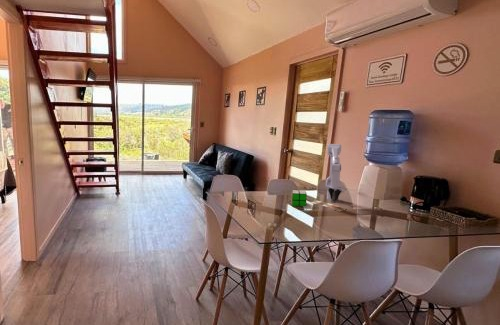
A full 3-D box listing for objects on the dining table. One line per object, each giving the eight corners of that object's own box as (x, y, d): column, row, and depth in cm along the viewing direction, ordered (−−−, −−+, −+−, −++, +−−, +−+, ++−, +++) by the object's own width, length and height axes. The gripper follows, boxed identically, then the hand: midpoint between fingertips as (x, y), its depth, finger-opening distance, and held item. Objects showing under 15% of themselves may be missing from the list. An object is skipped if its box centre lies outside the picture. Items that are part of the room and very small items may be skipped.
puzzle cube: (304, 203, 223) (305, 190, 221) (306, 207, 213) (306, 193, 212) (291, 203, 224) (291, 190, 222) (291, 206, 214) (292, 193, 213)
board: (317, 201, 229) (317, 200, 229) (346, 208, 211) (347, 207, 211) (309, 203, 222) (309, 202, 222) (339, 211, 204) (339, 210, 204)
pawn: (333, 200, 215) (333, 190, 214) (338, 202, 212) (339, 191, 211) (329, 201, 212) (330, 191, 211) (335, 203, 209) (335, 192, 208)
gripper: (323, 179, 213) (322, 198, 215) (341, 183, 202) (340, 202, 204) (328, 178, 218) (327, 196, 219) (346, 181, 207) (345, 200, 209)
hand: (334, 199), depth 212 cm, fingers closed on pawn, 3 cm apart
